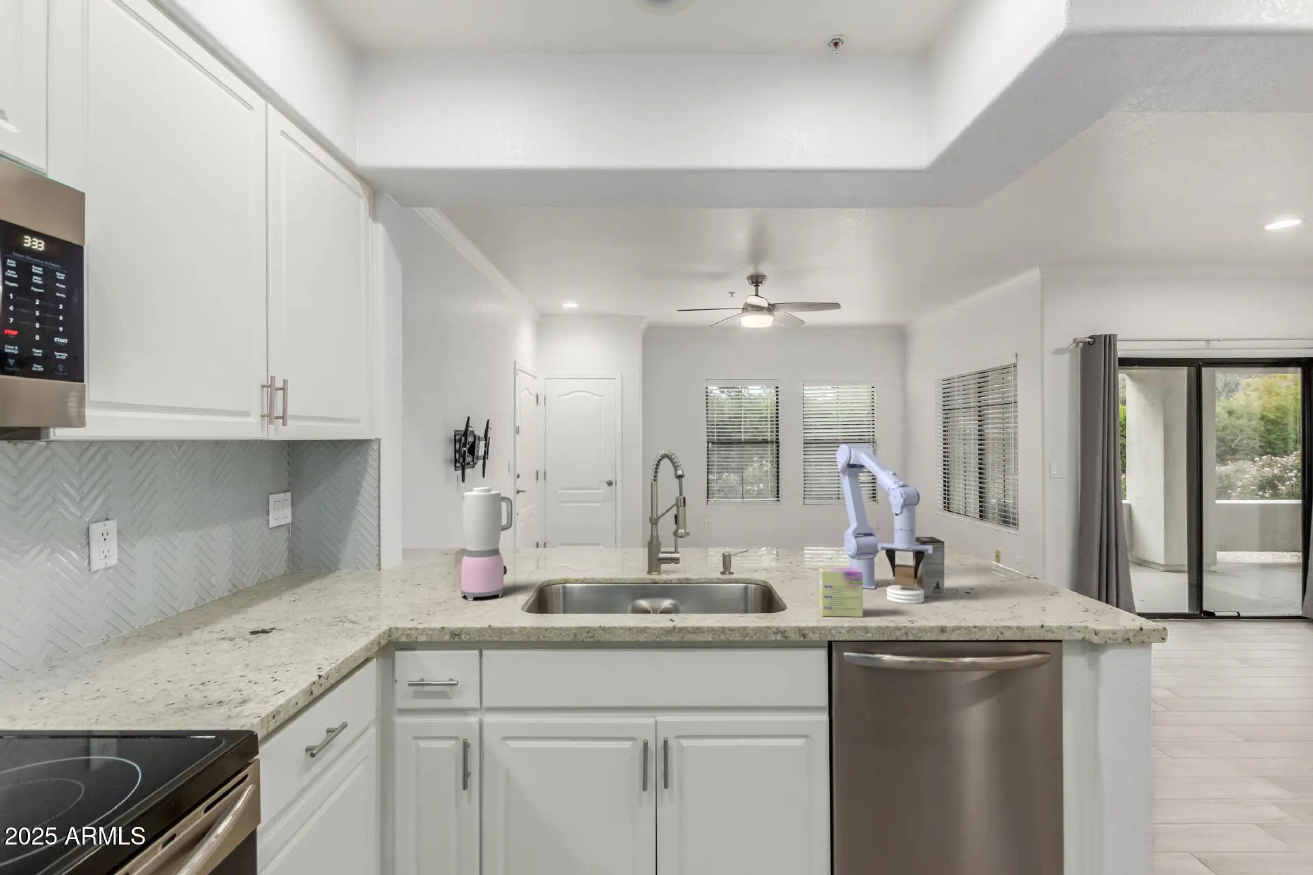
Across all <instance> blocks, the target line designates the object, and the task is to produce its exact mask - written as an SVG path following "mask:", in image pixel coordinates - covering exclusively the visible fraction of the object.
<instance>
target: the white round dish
mask: <svg viewBox="0 0 1313 875" xmlns="http://www.w3.org/2000/svg"><path fill="white" fill-rule="evenodd" d="M886 599H887V601H889V600H890V601H889V602H891V601H892V603H895V602H897V603H896V604H901V603H902V604H903V605H919V603H920V604H922V602H923V603H924V602H925V597H924V590H923V589H922V588H919V587H916V586H914V587H910V586H899V585H895V584H893V585H889V586H887V587H886Z"/></svg>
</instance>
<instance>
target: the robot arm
mask: <svg viewBox="0 0 1313 875" xmlns="http://www.w3.org/2000/svg"><path fill="white" fill-rule="evenodd" d="M835 458H836V459H835V460H836V464H837V468H838V472H839V476H840V481H841V485H842V491H843V496H844V502H845V507H846V511H847V517H848V523H849V528H848V529H847V530H846V531H845V532H844V533H843V538H844V543H843V548H844V551H845V553H846V555H847V557H849V568H859V569H860V570H861V571H862V573H863V574H862V575H863V589H871V590H873V589H875V590H876V586H878V585H877V584H878V581H877V580H875V558H877V555H878V554H879V552H881V551H885V556H886V558H887V561H888V563H889V564H890V567H891V572H892V577H893V578H895V566H896V552H905V553H913V552H915V574H914V579H917V574H918V570H919V567H920V564H921V562H922V560H923V558H924V554H925V553H933V546H930V545H919V544H916V537H917V536H916V507H917V506H918V505H919V503H920V500H921V494H920V492H919V490H918V488H917V487H916V486H915V485H909V484H906V482H905V481H904V480H903V479H901V477H899V475H898V474H897V472H896V471H895V470H892V469H886V467H885V466H884V465H883V464H882V463H881V461H880V460H879V459H878V457H877V456H876V455H875V449H874V448H873V447H871V445H870V444H868V443H864V444H846V443H843V444H841V445H839V446H838V449H837V451H836V453H835ZM865 469H867V470H868V471H869V472H871V473H872V474H873V476H875V477H876V478H877V480H876V482H877V485H878V486H879V487H880V488H881V489H882V490H883V491H884V492H885V493H886V494H887V495H888V501H889V504H890V505H891V511H892V513H893V542H880V541H881V540H880V539H879V537H878V536H877V532H876V529H875V528H873V527H872V526H870V525H869V523H868V519H867V514H866V508H865V504H864V499H863V494H862V489H861V482H860V480H859V475H860V473H861V472H864V470H865Z"/></svg>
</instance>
